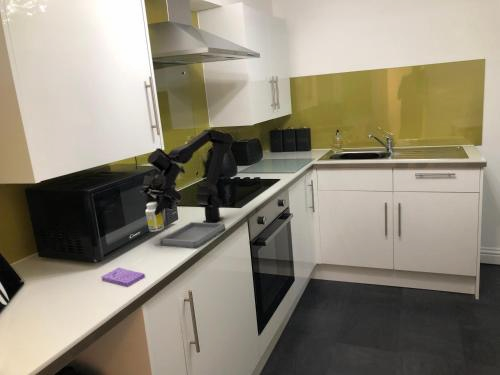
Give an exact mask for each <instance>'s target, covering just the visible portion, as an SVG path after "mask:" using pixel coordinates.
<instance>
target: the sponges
mask: <svg viewBox="0 0 500 375" xmlns="http://www.w3.org/2000/svg"><path fill="white" fill-rule="evenodd" d="M100 278H101V281H103V282H104V281H105V282H108V283H112V284H115V285H120V286H123V287H131V286H132V285H134V284H135V283H137V282H138V281H141V280H142V279H144V278H146V274H145V273H144V272H139V271H134V270H130V269H126V268H122V267H116V268H115V269H112V271H110V272H107V273H106V274H103V275H101V276H100Z"/></svg>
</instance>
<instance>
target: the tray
mask: <svg viewBox="0 0 500 375" xmlns="http://www.w3.org/2000/svg"><path fill="white" fill-rule="evenodd" d="M224 231H226V225H225V223H218V222H216V223H207V222H200V221H199V222H197V221H194V222H193V221H191V222H189V223H188V224H186V225H184V226H181V227H180V228H178V229H176V230H175V231H173V232H171V233H169V234H167V235H165V236H163V237H162V238H160V239H159V240H160V246H162V247H163V246H164V247H174V248H185V249H186V248H187V249H199V247H201V246H203V245H204V244H206V243H207V242H209V241H210V240H212V239H213V238H215V237H216V236H218V235H219V234H221V233H223V232H224Z"/></svg>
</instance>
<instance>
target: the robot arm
mask: <svg viewBox="0 0 500 375" xmlns="http://www.w3.org/2000/svg"><path fill="white" fill-rule="evenodd" d="M233 141H234V138H233V136H232V134H230V133H228V132H227V133H226V132H222V131H217V130H216V129H213V128H212V129H211V128H209V129H207V128H206V129H204V130H203V131H202V132H201V133H199V134H198V135H197V136H195V137H193V139H190V141H188V142H187V143H186V144H183V145H180V146H178V147H175V148H173V149H171V150H170V151H169V153H166V152H165V151H163V149H162V148H159V147H158V148H156V149H155V150H154V151H152V153H150V154H149V155H148V157H147V163H148V164H150V165H151V166H153V168H155V169H157V171H159V172H161V171H162V173H161V174H155V175H144V180H143V186H141V187H140V189H139V192H140V193H141V194H143V195H144V196H145V206H144V208H145V209H144V213H145V214H146V212H145V211H146V209H147V206H146V204H148V203H151V202H157V207H156V210H155V213H154V214H155V215H158V214H159V213H160V212H161V213H162V212H163V211H164V210H166V209H167V208H168V207H169V206H171V205H172V204H174V203H175V202H176V203H177V202H178V203H180V202H181V200H182V199H183V196H182V193H180V192H179V191H177V189H176V188H173V187H177V183H176V181H177V179H178V177H179V175H180V174H185V173H186V172H185V168H184V166H180V165H181V164H187V163H189V162H190V160H191V159H192V158H193V156H194V154H195V153H196V152H197V151H198V150H199V149H201V148H202V147H203V146H205V145H206V144H208V143H212V144H211V146H212V151H213V153H212V157H211V160H210V163H209V168H208V171H207V174H206V177H205V181H204V183H203V184H202V185H198V188H197V192H196V194H195V195H196V197H195V198H196V201H197V203H198V205H199V206H200V208H204V216H205V217H204V218H205V220H203V221H202V223H218V222H220V221H222V220H223V219H224V217H223V216H221V212H220V208H221V207H223V200H222V199H221V198H219V197H218V195H219V192H218V188H217V184H218V181H219V177H220V174H221V170H222V166H223V162H224V159H225V156H226V154H228V152H229V151H230V149H231V147H232V145H233ZM179 164H180V165H179ZM147 185H148V186H147ZM158 197H159V199H157V198H158Z"/></svg>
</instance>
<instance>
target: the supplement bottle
mask: <svg viewBox="0 0 500 375" xmlns="http://www.w3.org/2000/svg"><path fill="white" fill-rule="evenodd" d="M157 205H158V202H151V203H148V204H146V203H145V206H147V209H146V211H145V210H144V213H145V212H146V213H145V217H146V222H147V226H148V230H149V232H154V233H155V232H158V231H161V230H163V229H164V228H165V225H164V220H163V214H162V211H161V212H160V213H159V214H158V215H155V214H154V213H155V210H156V207H157Z"/></svg>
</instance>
